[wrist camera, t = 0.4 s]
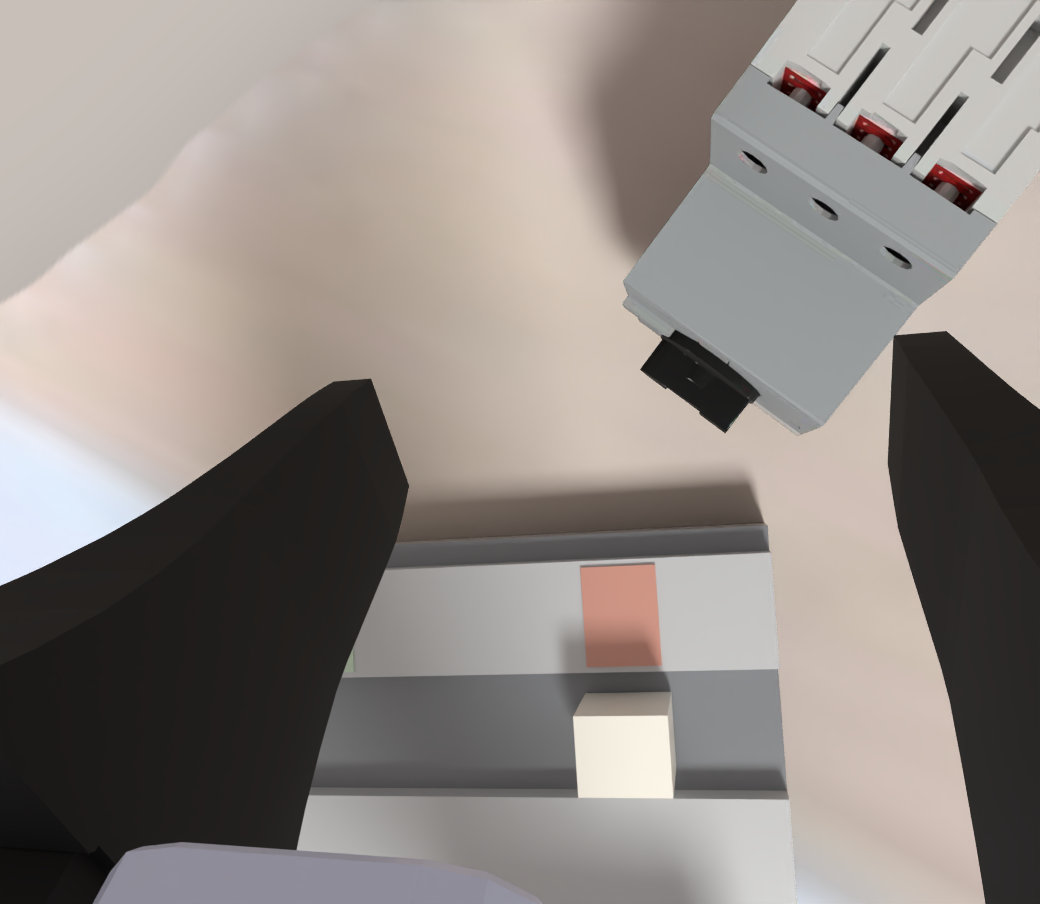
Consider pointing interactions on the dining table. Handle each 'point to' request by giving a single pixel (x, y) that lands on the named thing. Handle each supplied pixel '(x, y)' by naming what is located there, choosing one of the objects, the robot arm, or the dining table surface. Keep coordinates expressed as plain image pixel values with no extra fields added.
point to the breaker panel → (565, 716)
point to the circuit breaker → (838, 199)
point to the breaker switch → (625, 745)
